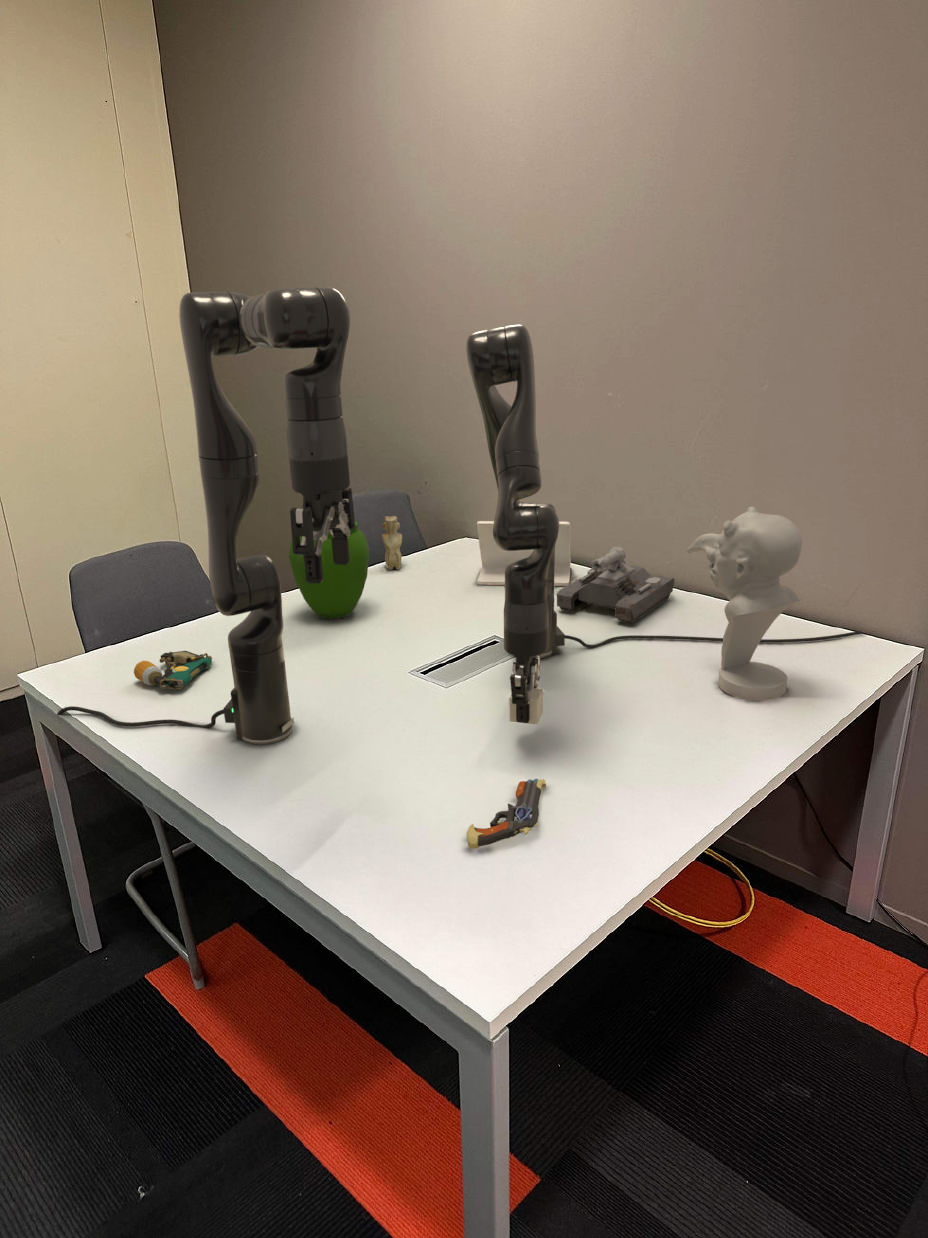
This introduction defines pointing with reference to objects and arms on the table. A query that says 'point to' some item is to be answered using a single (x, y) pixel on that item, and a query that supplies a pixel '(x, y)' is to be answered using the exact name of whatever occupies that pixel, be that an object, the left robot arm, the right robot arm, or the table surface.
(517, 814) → the toy gun
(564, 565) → the tablet stand
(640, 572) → the toy
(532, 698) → the beige cube
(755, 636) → the bust sculpture
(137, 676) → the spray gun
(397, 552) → the sculpture
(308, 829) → the table surface
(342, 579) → the vase
